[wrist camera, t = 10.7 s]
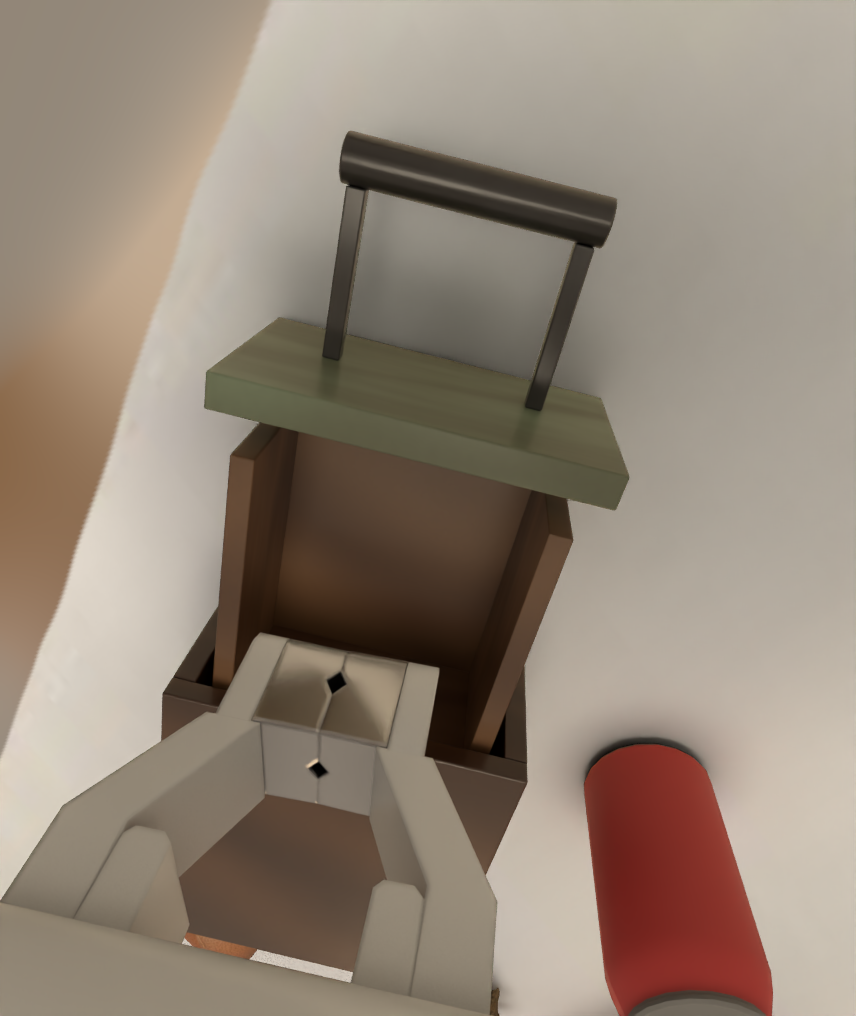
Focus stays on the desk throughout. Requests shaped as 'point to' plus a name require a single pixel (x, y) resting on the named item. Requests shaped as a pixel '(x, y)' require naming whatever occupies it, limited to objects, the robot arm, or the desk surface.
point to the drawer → (412, 465)
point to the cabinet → (323, 838)
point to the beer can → (670, 891)
